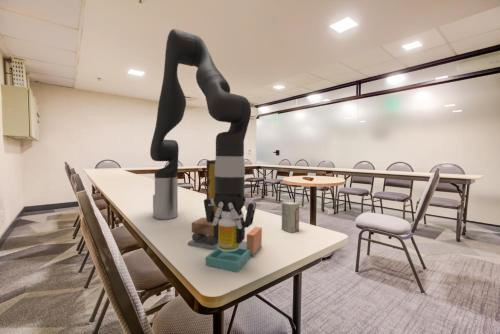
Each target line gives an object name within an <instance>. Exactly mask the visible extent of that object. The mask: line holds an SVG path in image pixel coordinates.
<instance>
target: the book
mask: <svg viewBox="0 0 500 334" xmlns="http://www.w3.org/2000/svg"><path fill="white" fill-rule="evenodd" d="M214 178H215V159H212V160H206V199H208V198H214V197H215V192H214ZM216 211H217V206H216V205H215V203H214V212H215V213H216Z"/></svg>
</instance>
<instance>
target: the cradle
mask: <svg viewBox="0 0 500 334" xmlns="http://www.w3.org/2000/svg"><path fill="white" fill-rule="evenodd" d="M251 257H252V256H251V249H246V248H240V247H239V249H238V250H236V251H233V252H223V251H221V250H219V248H217V249H216V250H214V249H213V251H212V252H210V253H209V254H208V255H206V256H205V262H204V263H205V266H207V267H211V268H217V269H222V270H225V271H231V272H235V273H238V272H239V271H241V269H242V268H243V266H244V265H245V264H246V263H247V261H248V260H250V258H251Z"/></svg>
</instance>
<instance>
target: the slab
mask: <svg viewBox="0 0 500 334" xmlns="http://www.w3.org/2000/svg"><path fill="white" fill-rule="evenodd" d="M191 233H193V234H192V235H191V240H192V239H193V240H194V241H198V240H200V239H201V238H203V237H205V236H206V235H208V237H207V242H208V243H209V244H212V243H214V242H215V241H216V239H215V237H214V225H213V223H211V222H207V219H206V217H201V218H199V219H197V220H193V221H192V222H191Z"/></svg>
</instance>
